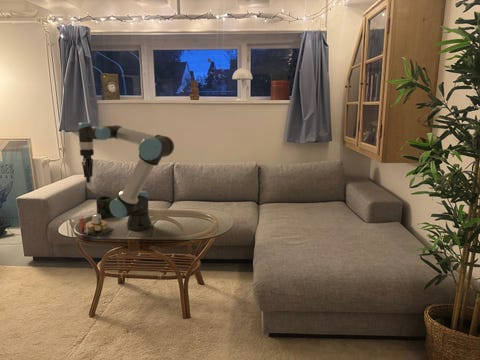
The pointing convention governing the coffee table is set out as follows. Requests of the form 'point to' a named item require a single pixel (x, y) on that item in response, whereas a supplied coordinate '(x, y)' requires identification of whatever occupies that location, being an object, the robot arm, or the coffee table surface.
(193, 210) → the coffee table surface
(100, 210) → the mug
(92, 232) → the spindle base
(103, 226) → the toothed crank wheel
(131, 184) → the robot arm
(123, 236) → the coffee table surface
